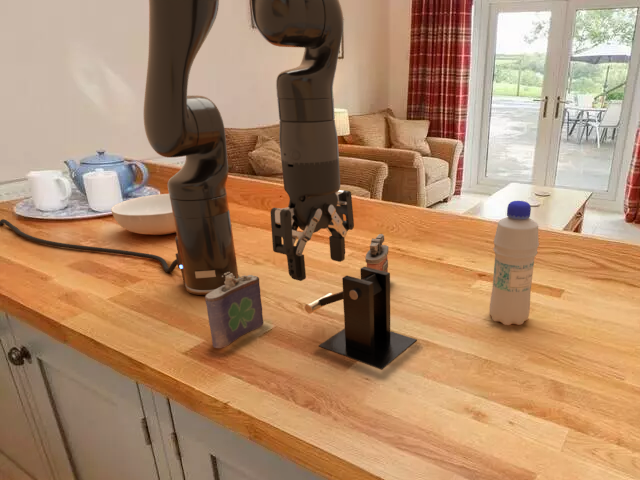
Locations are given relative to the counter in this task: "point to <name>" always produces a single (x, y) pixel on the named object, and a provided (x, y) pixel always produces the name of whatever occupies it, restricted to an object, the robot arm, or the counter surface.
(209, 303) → the flask
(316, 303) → the lever
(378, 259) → the lighter
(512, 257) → the bottle
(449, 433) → the counter surface
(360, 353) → the bracket
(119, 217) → the serving bowl
